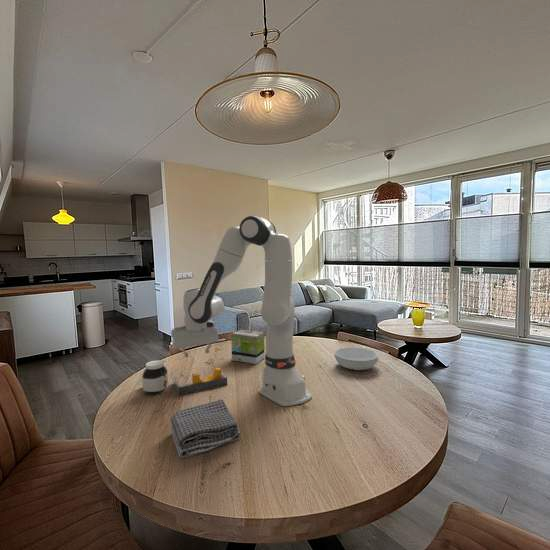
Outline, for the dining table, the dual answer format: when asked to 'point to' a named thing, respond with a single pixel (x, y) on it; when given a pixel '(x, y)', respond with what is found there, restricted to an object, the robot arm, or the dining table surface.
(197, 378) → the pipe clamp
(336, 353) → the serving bowl
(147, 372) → the spread jar
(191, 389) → the tray
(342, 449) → the dining table surface
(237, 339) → the tea box
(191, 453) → the towel
